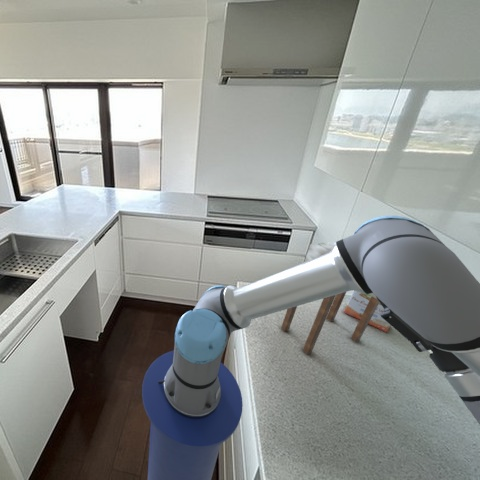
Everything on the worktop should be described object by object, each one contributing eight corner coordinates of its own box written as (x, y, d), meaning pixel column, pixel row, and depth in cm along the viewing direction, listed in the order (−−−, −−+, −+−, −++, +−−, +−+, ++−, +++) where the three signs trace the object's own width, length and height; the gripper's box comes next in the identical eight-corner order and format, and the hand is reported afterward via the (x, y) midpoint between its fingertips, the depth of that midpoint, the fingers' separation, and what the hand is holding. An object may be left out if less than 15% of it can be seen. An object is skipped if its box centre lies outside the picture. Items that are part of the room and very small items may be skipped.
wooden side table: (359, 341, 89) (404, 255, 74) (306, 354, 82) (344, 263, 68) (329, 317, 99) (363, 238, 85) (281, 327, 93) (309, 244, 78)
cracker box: (343, 313, 102) (363, 268, 93) (347, 306, 106) (367, 263, 97) (386, 333, 93) (414, 286, 84) (389, 325, 96) (416, 279, 87)
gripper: (406, 385, 53) (344, 291, 64) (478, 359, 60) (411, 278, 71) (445, 380, 47) (369, 277, 58) (520, 352, 54) (439, 265, 65)
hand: (392, 278), depth 65 cm, fingers open, 13 cm apart
